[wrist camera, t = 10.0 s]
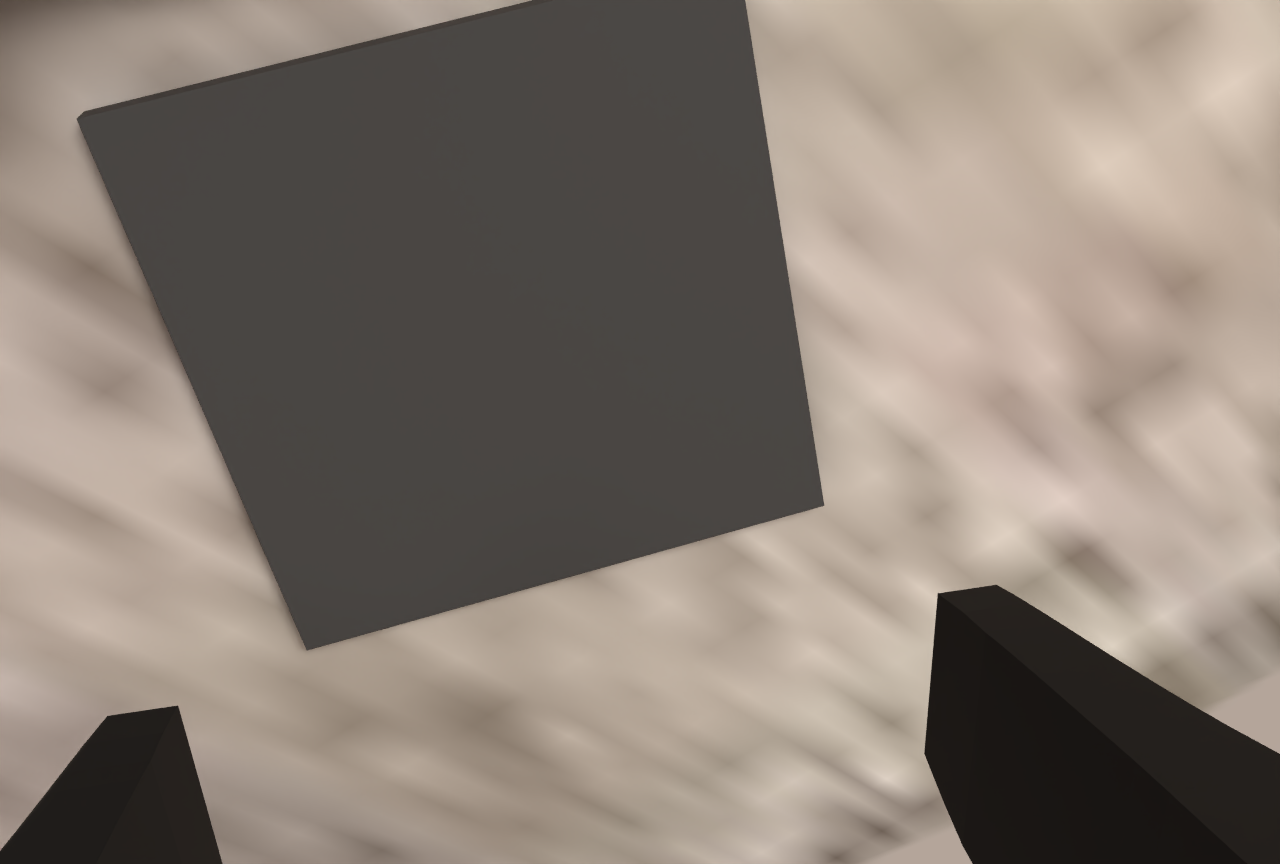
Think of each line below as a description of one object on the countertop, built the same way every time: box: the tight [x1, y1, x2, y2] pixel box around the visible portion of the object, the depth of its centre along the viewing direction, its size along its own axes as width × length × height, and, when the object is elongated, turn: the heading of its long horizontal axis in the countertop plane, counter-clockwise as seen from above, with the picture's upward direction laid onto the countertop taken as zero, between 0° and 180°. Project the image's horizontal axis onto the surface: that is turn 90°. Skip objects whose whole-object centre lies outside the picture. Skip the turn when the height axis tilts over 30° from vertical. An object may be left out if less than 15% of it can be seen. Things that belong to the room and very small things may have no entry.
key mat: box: [77, 0, 824, 650], centre depth 20 cm, size 10×10×1 cm
